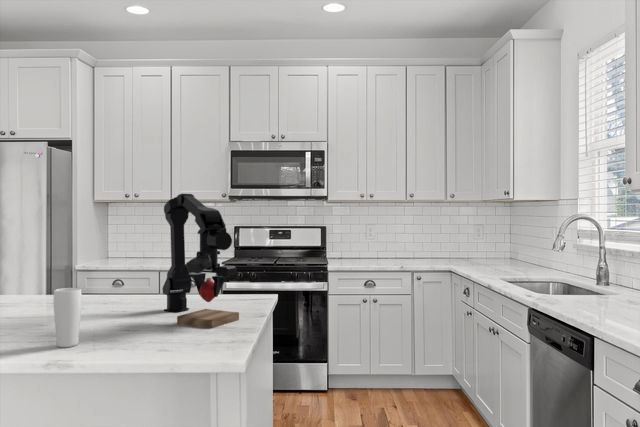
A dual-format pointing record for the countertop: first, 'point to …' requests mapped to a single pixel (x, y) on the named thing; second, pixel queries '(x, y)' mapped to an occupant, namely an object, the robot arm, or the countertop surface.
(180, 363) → the countertop surface
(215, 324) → the walnut block
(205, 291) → the red round fruit
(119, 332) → the countertop surface
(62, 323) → the drinking glass
